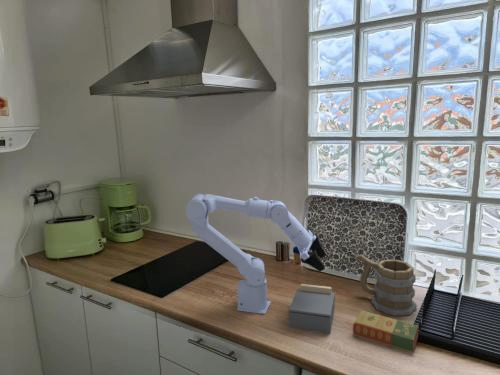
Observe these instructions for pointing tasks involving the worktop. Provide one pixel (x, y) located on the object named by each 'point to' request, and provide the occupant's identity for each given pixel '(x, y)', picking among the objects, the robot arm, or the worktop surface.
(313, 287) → the lid
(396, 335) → the carton
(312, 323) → the box
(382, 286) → the tankard
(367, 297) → the worktop surface
